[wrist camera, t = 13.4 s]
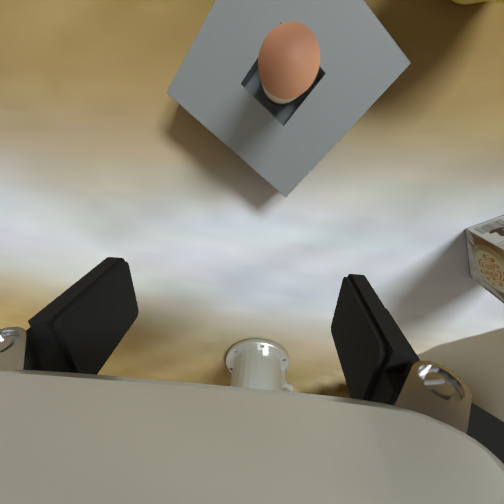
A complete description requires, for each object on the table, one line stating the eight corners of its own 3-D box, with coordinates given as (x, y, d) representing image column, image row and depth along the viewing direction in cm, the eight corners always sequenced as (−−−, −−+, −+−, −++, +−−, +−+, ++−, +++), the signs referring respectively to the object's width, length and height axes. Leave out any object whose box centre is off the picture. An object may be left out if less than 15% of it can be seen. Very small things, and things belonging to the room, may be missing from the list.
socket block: (387, 71, 26) (411, 63, 22) (283, 186, 33) (285, 197, 28) (275, -68, 22) (277, -115, 17) (182, 96, 28) (166, 92, 24)
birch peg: (308, 80, 26) (333, 56, 16) (282, 113, 28) (289, 112, 17) (280, 49, 25) (287, 3, 15) (255, 86, 27) (245, 68, 16)
